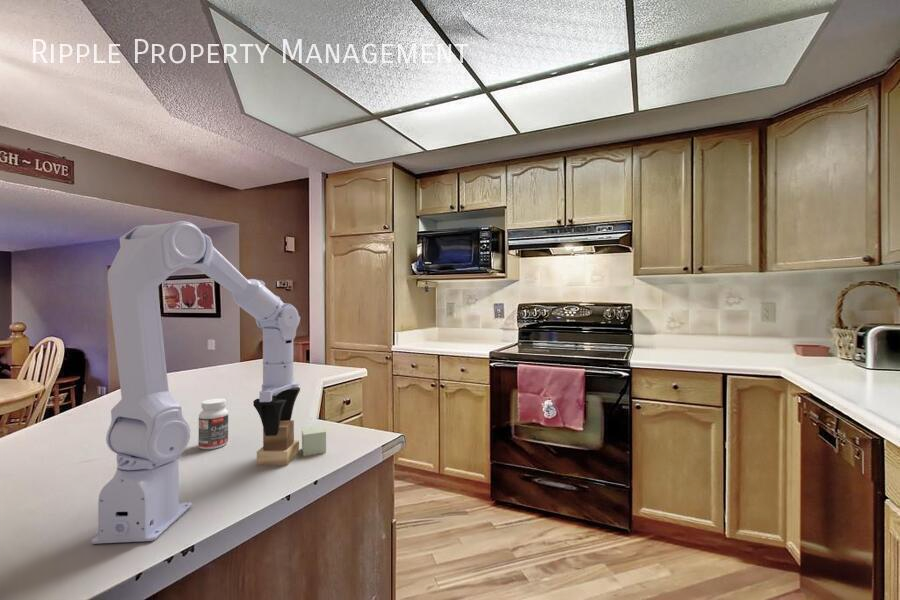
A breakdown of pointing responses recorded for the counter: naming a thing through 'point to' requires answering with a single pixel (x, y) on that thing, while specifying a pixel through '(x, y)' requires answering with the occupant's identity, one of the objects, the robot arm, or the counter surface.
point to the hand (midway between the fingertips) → (278, 428)
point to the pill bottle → (213, 424)
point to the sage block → (313, 440)
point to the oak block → (278, 455)
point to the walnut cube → (280, 437)
